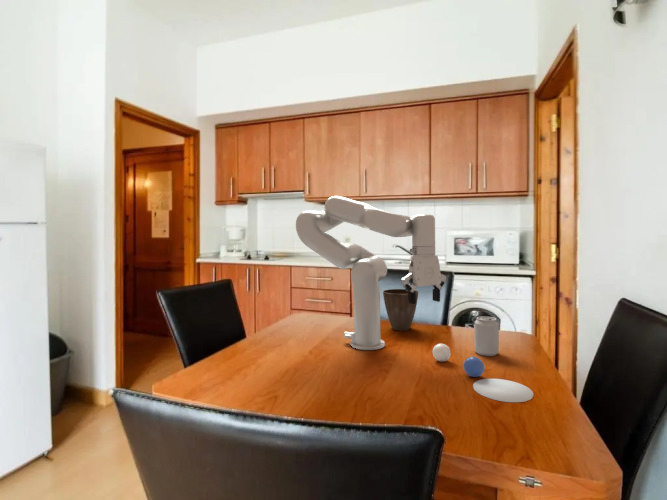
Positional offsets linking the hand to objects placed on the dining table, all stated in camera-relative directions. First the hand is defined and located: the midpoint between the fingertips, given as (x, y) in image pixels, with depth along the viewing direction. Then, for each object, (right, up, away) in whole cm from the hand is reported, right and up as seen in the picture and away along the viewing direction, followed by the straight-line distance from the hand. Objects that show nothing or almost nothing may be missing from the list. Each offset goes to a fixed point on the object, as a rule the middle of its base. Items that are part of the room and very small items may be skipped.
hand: (424, 302), depth 125 cm
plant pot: (-2, -16, +33) cm, 37 cm away
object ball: (+9, -15, -21) cm, 27 cm away
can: (+20, -17, -1) cm, 27 cm away
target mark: (+12, -18, -30) cm, 37 cm away
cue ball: (+3, -15, -8) cm, 17 cm away
